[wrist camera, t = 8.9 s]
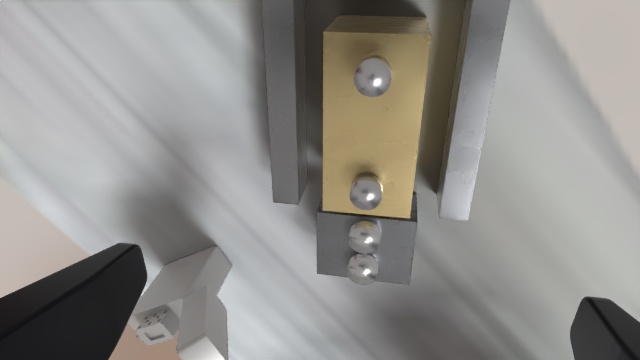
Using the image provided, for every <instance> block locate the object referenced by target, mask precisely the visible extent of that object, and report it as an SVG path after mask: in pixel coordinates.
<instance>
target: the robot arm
mask: <svg viewBox="0 0 640 360" xmlns="http://www.w3.org/2000/svg"><path fill="white" fill-rule="evenodd" d="M146 282H147V270H146V266H145V262H144V258H143V254H142V250H141V248H140V246H139V245H137V244H131V243H118V244H116V245H114V246H111V247H109V248H107V249H105V250H103V251H101V252H99V253H96V254H94V255H92V256H90V257H88V258H86V259H83V260H81V261H79V262H77V263H75V264H73V265H71V266H69V267H66V268H64V269H62V270H60V271H58V272H56V273H53V274H51V275H49V276H47V277H45V278H43V279H41V280H38V281H36V282H34V283H32V284H30V285H28V286H26V287H23V288H21V289H19V290H17V291H15V292H12V293H10V294H8V295H6V296H4V297H2V298H0V360H108V359H109V358H110V356H111V354H112V352H113V351H114V349H115V347H116V345H117V343H118V341H119V339H120V338H121V336H122V333H123V331H124V329H125V327H126V325H127V323H128V321H129V319H130V317H131V314H132V312H133V310H134V308H135V306H136V304H137V302H138V300H139V298H140V295H141V293H142V291H143V289H144V287H145V285H146ZM570 339H571V344H572V349H573V354H574V358H575V360H640V322H639V321H637V320H636V319H635V318H633V317H632V316H631V315H630V314H628V313H627V312H626V311H624V310H623V309H622V308H620V307H619V306H618V305H617V304H615V303H614V302H613V301H611V300H609V299H606V298H598V297H589V296H588V297H585V298H583V299H582V301H581V302H580V305H579V308H578V310H577V313H576V315H575V318H574V321H573V323H572V326H571V330H570Z"/></svg>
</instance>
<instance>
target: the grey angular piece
mask: <svg viewBox="0 0 640 360" xmlns="http://www.w3.org/2000/svg"><path fill="white" fill-rule="evenodd" d="M231 268H232V264H231V263H230V262H229V260H228V259H227V257H226V256H225V255H224V253H223V252H222V251H221V249H220V248H219V247H217V246H213V247H210V248H208V249H205V250H202V251H200V252H197V253H195V254H192V255H189V256H187V257H184V258H182V259H179V260H176V261H174V262H171V263H169V264H166V265H165V266H164V268H163V269H162V270H161V272H160V273H159V274H158V276H157V277H156V278H155V280H154V281H153V282H152V283H151V285H150V286H149V287H148V289H147V290H146V291H145V293H144V294H143V295H142V297H141V298H140V299H139V301H138V302H137V304H136V306H135V308H134V310H133V312H132V314H131V317H130V319H129V321H128V324H129V325H130V326H131V327H132V328H133V329H134V330H135V331H136V333H137V336H136V337H137V338H138V339H139V340H143V342H145V343H146V344H147V345H148V346H150V345H154V344H157V343H160V342H164V341H167V340H170V339H173V338H174V337H175V335H176V333H177V332H178V331H179V332H178V339H177V346H176V351H177V354H178V356H179V357H180V358H181V359H182V360H228V334H227V310H226V308H225V306H224V305H223V303H222V302H221V301H220V299H219V298H218V297H217V294H218V292H219V290H220V289H221V287H222V285H223V283H224V281H225V279H226V278H227V276H228V274H229V272H230V270H231Z"/></svg>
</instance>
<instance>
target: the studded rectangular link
mask: <svg viewBox="0 0 640 360" xmlns="http://www.w3.org/2000/svg"><path fill="white" fill-rule="evenodd" d="M509 4H510V0H466V1H465V7H464V14H463V21H462V28H461V34H460V41H459V48H458V55H457V62H456V68H455V75H454V82H453V89H452V95H451V102H450V109H449V116H448V122H447V129H446V136H445V143H444V149H443V156H442V163H441V170H440V176H439V183H438V190H437V203H438V212H439V218H443V219H454V220H464V221H468V217H469V211H470V206H471V201H472V196H473V191H474V186H475V180H476V175H477V170H478V165H479V160H480V154H481V149H482V144H483V139H484V134H485V129H486V123H487V118H488V113H489V108H490V103H491V98H492V92H493V87H494V82H495V77H496V72H497V66H498V61H499V56H500V51H501V46H502V41H503V35H504V30H505V25H506V20H507V15H508V10H509ZM262 17H263V34H264V52H265V69H266V86H267V104H268V121H269V139H270V156H271V173H272V191H273V202H275V203H286V204H296V205H299V202H300V200H301V198H302V195H303V193H304V190H305V188H306V186H307V135H306V64H305V0H262ZM416 229H417V197H416V194H415V193H413V196H412V205H411V213H410V219H409V218H399V217H388V216H377V215H367V214H356V213H345V212H335V211H324V210H323V196H322V199H321V202H320V205H319V208H318V211H317V274H325V275H333V276H341V277H349V278H350V279H351V280H352V281H353V282H355V283H357V284H362V285H366V284H370V283H372V282H374V281H383V282H392V283H400V284H409V283H410V275H411V268H412V260H413V252H414V244H415V236H416Z"/></svg>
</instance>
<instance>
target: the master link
mask: <svg viewBox="0 0 640 360" xmlns="http://www.w3.org/2000/svg"><path fill="white" fill-rule="evenodd" d="M430 42H431V32H430V28H429V25H428V21H427V17H391V16H352V15H339V16H338V17H337V18H336V19H335V20H334V21H333V22H332V23H331V24H330V25H329V26H328V27H327V28H326V29H325V30H324V31H323V210H324V211H335V212H345V213H356V214H367V215H377V216H388V217H399V218H409V219H410V213H411V205H412V196H413V187H414V179H415V170H416V162H417V153H418V145H419V136H420V127H421V119H422V110H423V102H424V93H425V84H426V76H427V67H428V59H429V50H430Z"/></svg>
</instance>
